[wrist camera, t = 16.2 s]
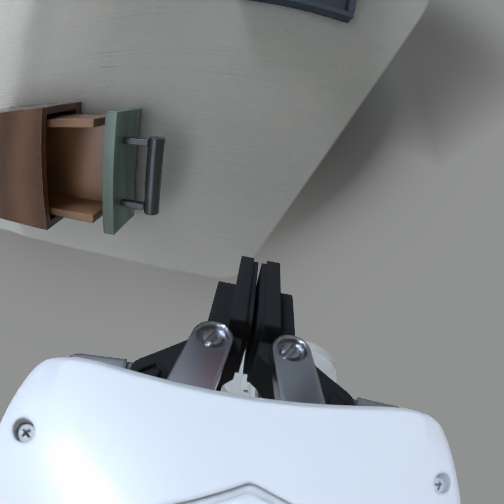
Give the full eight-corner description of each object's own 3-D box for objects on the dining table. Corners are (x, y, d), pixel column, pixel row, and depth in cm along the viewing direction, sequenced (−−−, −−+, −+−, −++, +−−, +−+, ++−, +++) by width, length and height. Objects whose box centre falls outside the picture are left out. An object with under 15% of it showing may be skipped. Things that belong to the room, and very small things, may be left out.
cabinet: (81, 101, 24) (42, 107, 18) (79, 206, 30) (47, 230, 24) (9, 107, 23) (-26, 117, 18) (12, 194, 29) (-18, 213, 24)
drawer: (179, 111, 24) (160, 114, 19) (167, 221, 29) (150, 243, 25) (49, 108, 23) (21, 114, 19) (50, 200, 29) (26, 215, 25)
